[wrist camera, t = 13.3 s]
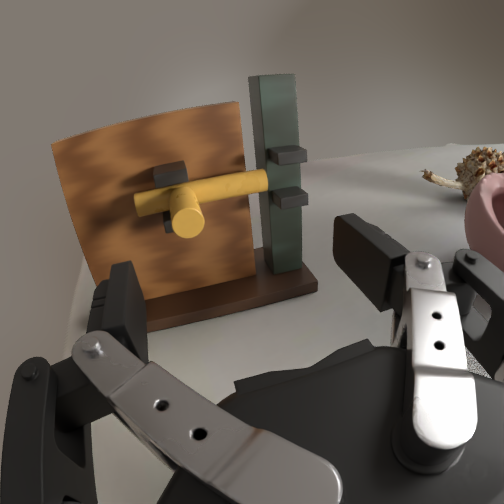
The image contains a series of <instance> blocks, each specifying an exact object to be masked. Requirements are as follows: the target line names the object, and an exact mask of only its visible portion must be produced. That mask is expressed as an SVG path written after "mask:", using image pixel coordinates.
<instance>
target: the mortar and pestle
mask: <svg viewBox="0 0 504 504" xmlns="http://www.w3.org/2000/svg"><path fill="white" fill-rule="evenodd" d="M464 221H465V233H466V238H467V241H468V244H469V247H470V249H471V250H473V251H476V252H478V253H480V254H481V255H482V256H484V257H485V258H486V259H487V260H489V261H490V262H491V263H492V264H494V265H495V266H496V267H497V268H499V269H500V270H501V271H502V272H503V273H504V173H490V174H489V175H485V176H484V177H483V178H482V179H481V180H480V181H479V183H478V184H477V185H476V186H475V188H474V189H473V191H472V193H471V195H470V197H469V199H468V202H467V206H466V211H465V220H464Z"/></svg>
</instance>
